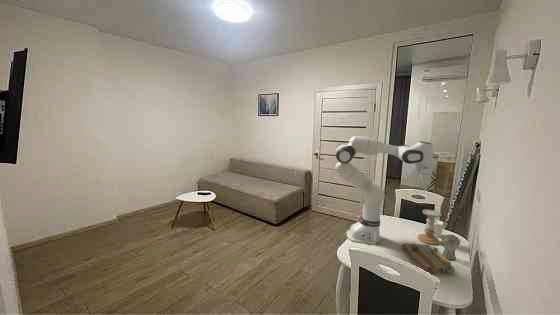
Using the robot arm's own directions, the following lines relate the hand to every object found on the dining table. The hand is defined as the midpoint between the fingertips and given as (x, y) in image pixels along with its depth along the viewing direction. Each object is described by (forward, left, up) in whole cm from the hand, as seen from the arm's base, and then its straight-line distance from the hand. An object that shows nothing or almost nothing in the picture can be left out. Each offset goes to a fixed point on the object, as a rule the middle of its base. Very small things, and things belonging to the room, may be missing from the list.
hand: (424, 188), depth 136 cm
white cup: (+18, +13, -38) cm, 44 cm away
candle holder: (+9, +5, -38) cm, 40 cm away
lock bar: (-1, -23, -34) cm, 41 cm away
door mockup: (-6, -19, -38) cm, 43 cm away
